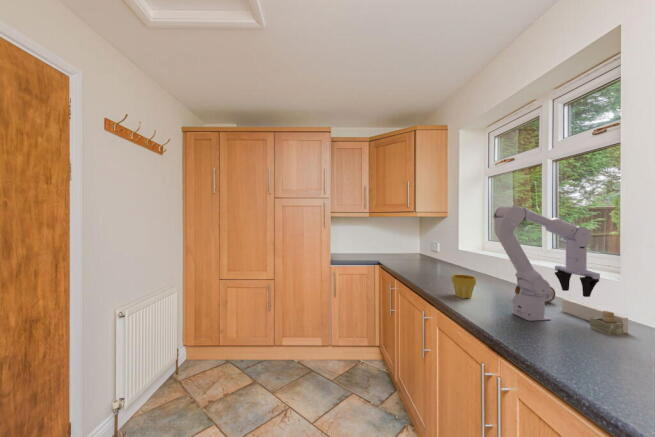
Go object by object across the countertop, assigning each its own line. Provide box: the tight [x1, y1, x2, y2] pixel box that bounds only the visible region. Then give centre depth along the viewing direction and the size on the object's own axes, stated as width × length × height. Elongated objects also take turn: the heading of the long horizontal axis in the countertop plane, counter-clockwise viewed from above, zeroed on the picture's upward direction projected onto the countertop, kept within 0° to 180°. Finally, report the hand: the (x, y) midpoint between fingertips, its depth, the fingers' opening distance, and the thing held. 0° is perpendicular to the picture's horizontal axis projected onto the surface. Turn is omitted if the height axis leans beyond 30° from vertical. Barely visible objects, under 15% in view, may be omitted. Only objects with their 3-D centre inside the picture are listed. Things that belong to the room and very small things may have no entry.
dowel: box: [603, 310, 615, 324], centre depth 88 cm, size 3×3×6 cm
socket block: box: [589, 318, 624, 335], centre depth 88 cm, size 5×5×4 cm
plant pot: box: [451, 273, 477, 299], centre depth 125 cm, size 10×10×10 cm
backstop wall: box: [561, 298, 629, 334], centre depth 96 cm, size 2×20×5 cm, turn 6°
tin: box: [514, 284, 556, 304], centre depth 118 cm, size 15×3×8 cm, turn 77°
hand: (575, 293), depth 98 cm, fingers open, 7 cm apart
